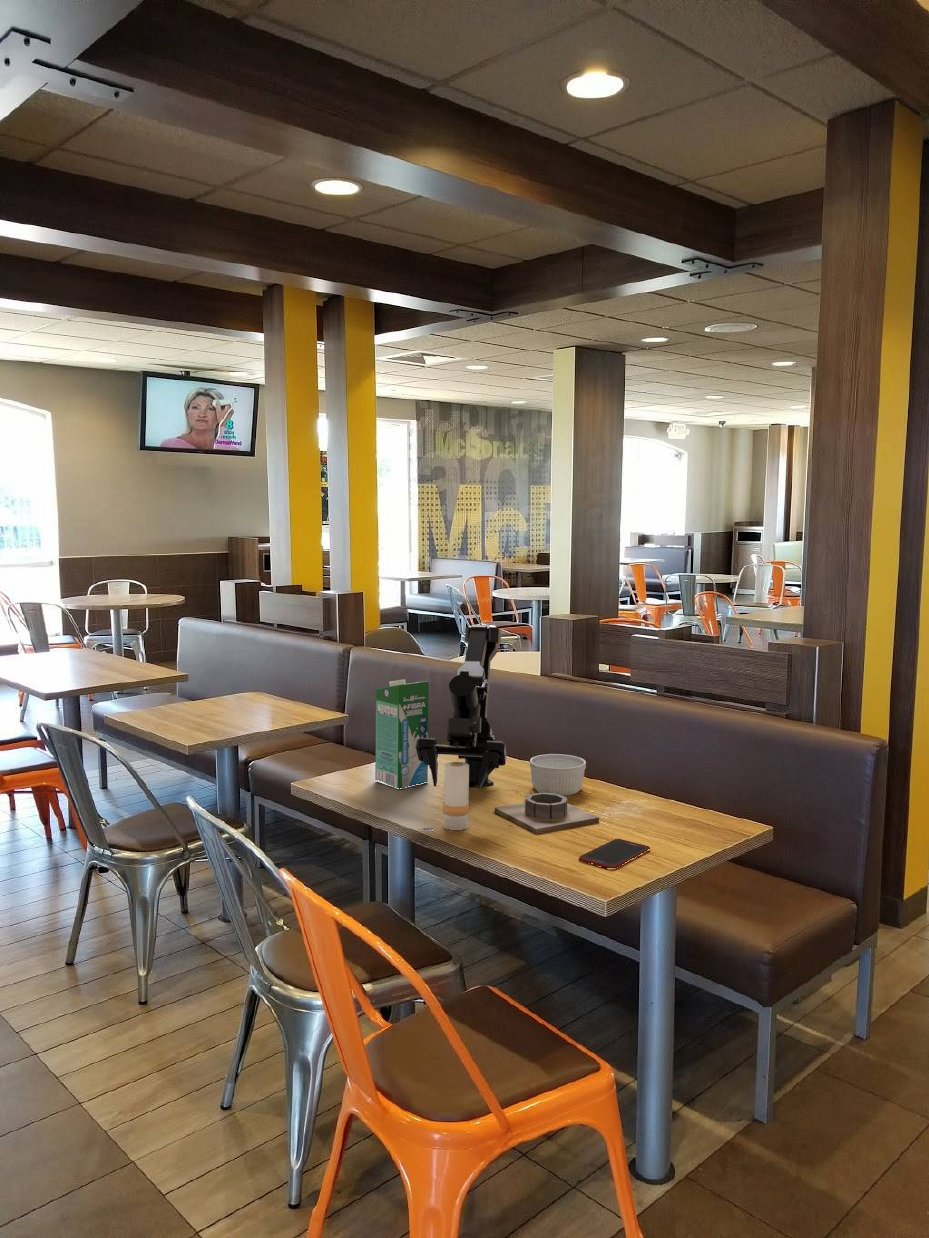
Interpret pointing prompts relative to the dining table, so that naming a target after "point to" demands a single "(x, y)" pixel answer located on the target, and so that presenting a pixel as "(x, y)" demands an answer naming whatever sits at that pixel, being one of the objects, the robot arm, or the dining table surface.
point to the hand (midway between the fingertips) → (456, 786)
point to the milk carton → (401, 733)
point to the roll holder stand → (546, 813)
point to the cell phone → (614, 853)
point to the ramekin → (557, 773)
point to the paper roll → (456, 795)
